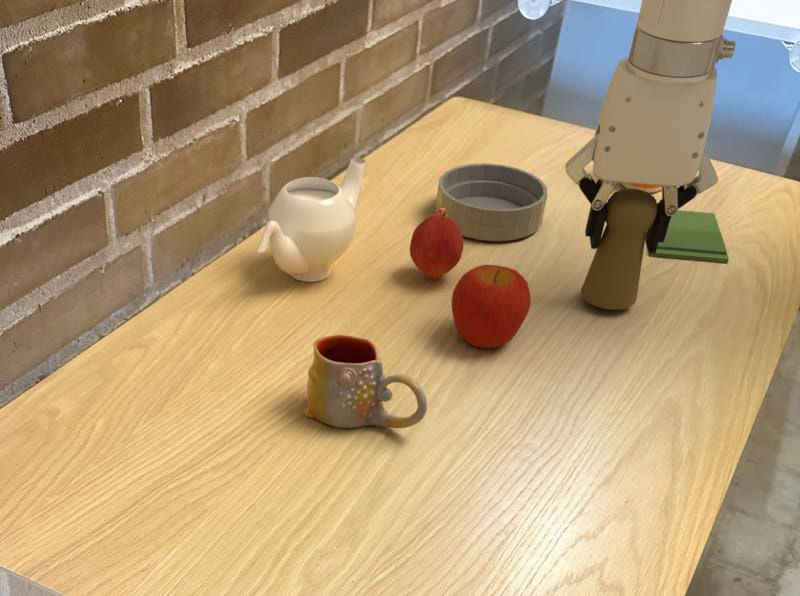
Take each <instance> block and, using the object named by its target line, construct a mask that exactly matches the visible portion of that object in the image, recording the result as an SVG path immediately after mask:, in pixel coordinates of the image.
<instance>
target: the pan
mask: <svg viewBox="0 0 800 596" xmlns="http://www.w3.org/2000/svg"><path fill="white" fill-rule="evenodd" d="M547 198H548V187H547V186H546V184H545V182H543V180H542V179H541V178H539V177H537V176H536V175H535V174H532V172H528V171H526V170H523V169H522V168H518V167H514V166H511V165H505V164H498V163H485V162H484V163H483V162H481V163H467V164H463V165H459V166H455V167H452V168H451V169H448V170H446V171H444V173H443V174H441V176H439V178H438V185H437V193H436V203H435V212H437V211H439V209H440V208H445V209H446V213H447V216H448V217H449V218H450V219H452V220H453V221H454V222H455V223H456V224H457V226H458V228H459V230H460V232H461V234H462V237H465V238H467V239H472V240H476V241H480V242H481V241H482V242H491V243H493V242H495V243H496V242H497V243H498V242H511V241H515V240H520V239H522V238H527V237H528V236H530V235H533V234H534V233H536V232H537V231H538V230H539V228H540V227H541V225H542V224H543V218H544V213H545V209H546V204H547V201H548V199H547ZM435 212H434V213H435Z"/></svg>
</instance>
